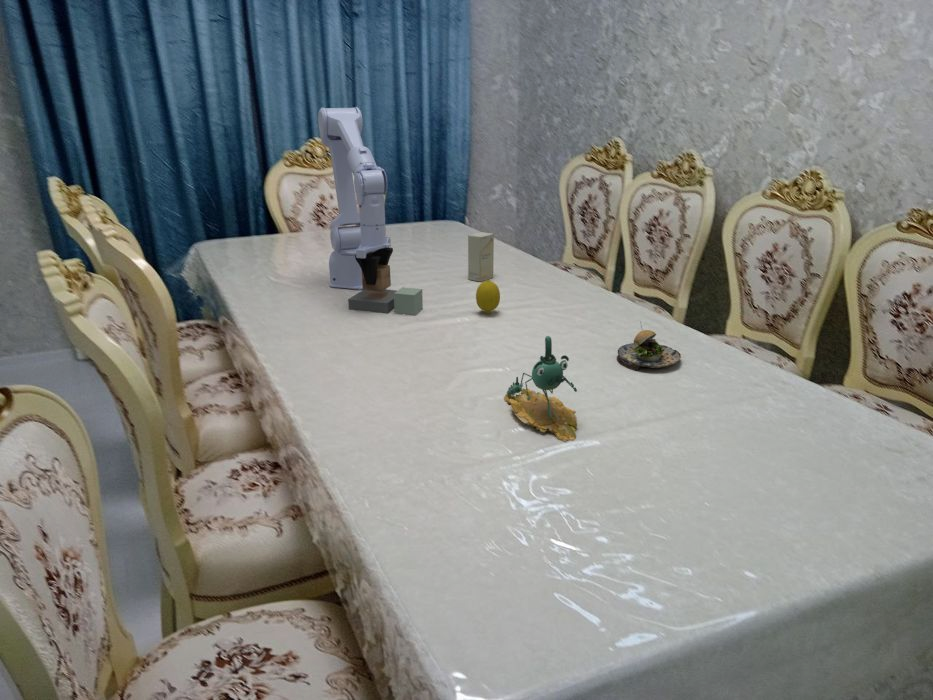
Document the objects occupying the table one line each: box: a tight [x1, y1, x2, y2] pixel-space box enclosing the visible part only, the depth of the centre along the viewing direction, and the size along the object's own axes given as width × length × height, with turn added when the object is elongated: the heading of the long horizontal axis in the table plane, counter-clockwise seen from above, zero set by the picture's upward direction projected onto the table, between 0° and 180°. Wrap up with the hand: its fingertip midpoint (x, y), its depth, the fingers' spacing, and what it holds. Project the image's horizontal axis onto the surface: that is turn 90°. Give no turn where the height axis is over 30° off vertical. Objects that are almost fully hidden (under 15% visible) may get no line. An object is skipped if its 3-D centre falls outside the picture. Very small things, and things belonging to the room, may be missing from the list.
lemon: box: [475, 279, 501, 314], centre depth 151 cm, size 6×6×8 cm
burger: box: [616, 321, 682, 372], centre depth 125 cm, size 12×12×8 cm
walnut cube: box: [362, 264, 392, 291], centre depth 156 cm, size 5×5×5 cm
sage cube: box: [394, 286, 424, 316], centre depth 153 cm, size 5×5×5 cm
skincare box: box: [467, 231, 495, 283], centre depth 178 cm, size 6×4×12 cm
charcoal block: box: [347, 289, 398, 315], centre depth 158 cm, size 10×10×3 cm
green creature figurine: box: [503, 335, 578, 443], centre depth 103 cm, size 10×18×15 cm, turn 22°
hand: (375, 281), depth 156 cm, fingers closed on walnut cube, 5 cm apart
